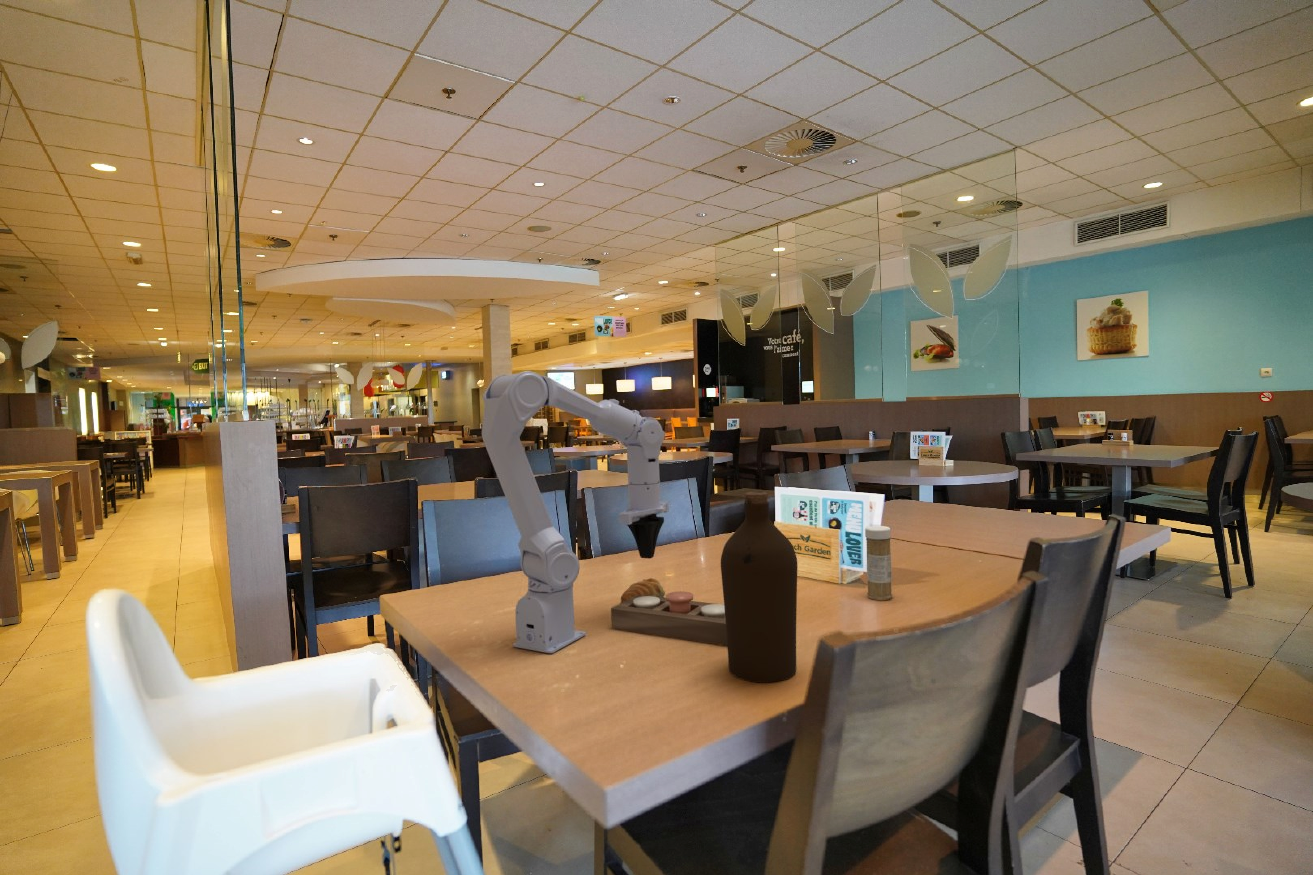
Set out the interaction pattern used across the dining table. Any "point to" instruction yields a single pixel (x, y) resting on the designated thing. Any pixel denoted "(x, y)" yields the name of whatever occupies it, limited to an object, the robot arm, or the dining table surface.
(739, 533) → the olive oil
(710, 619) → the plug block
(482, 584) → the dining table surface
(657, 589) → the pastry
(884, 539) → the sprinkles bottle
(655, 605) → the cream plug
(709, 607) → the cream plug
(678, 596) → the red plug
